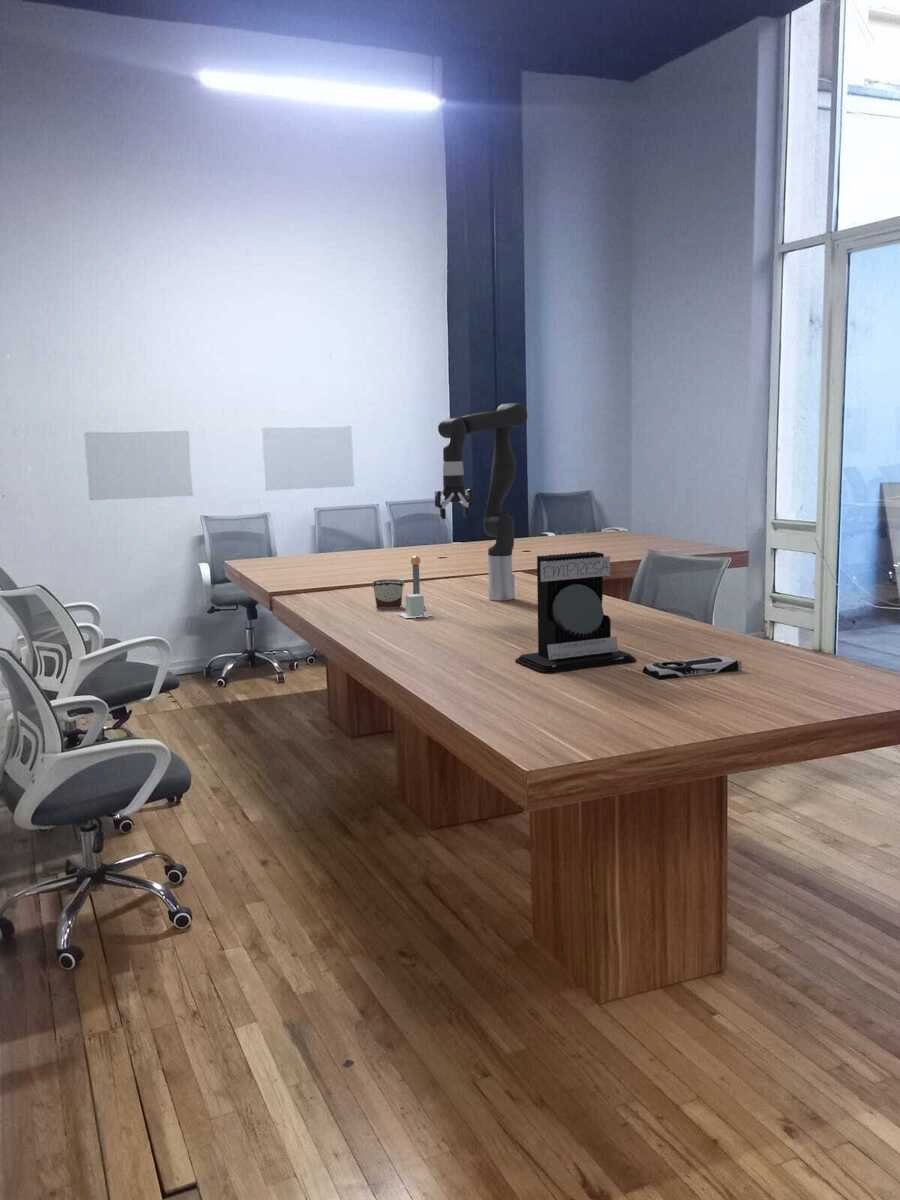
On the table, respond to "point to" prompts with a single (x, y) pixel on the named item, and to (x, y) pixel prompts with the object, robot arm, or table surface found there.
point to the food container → (388, 592)
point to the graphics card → (692, 667)
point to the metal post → (416, 575)
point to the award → (573, 615)
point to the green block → (414, 605)
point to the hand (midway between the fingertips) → (454, 518)
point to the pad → (413, 616)
